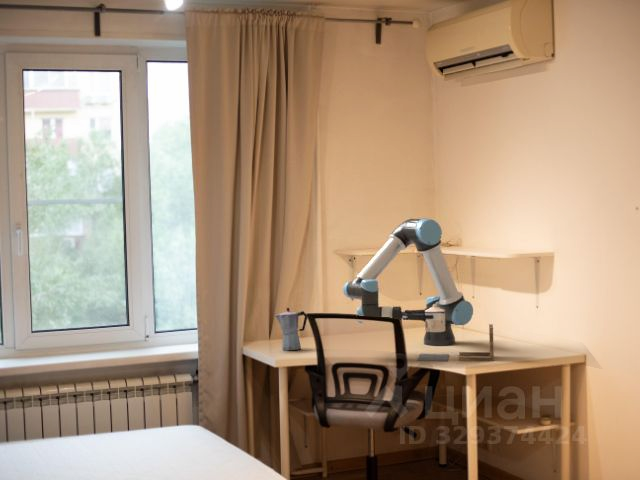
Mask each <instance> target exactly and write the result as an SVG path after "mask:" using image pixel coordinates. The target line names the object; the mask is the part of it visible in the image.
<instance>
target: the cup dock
mask: <svg viewBox="0 0 640 480" xmlns="http://www.w3.org/2000/svg"><path fill="white" fill-rule="evenodd" d="M488 329H489V331H488V332H489V333H488V334H489V339H488V340H489V351H483V352H481V351H479V352H478V351H473V352H472V351H471V352H470V351H468V352H467V351H459V355H458V356H459V357H458V362H494V361H495V360H494V359H495V358H494V355H495V354H494V352H495V351H494V348H495V347H494V325H493V324H492V323H491V324H488Z"/></svg>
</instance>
